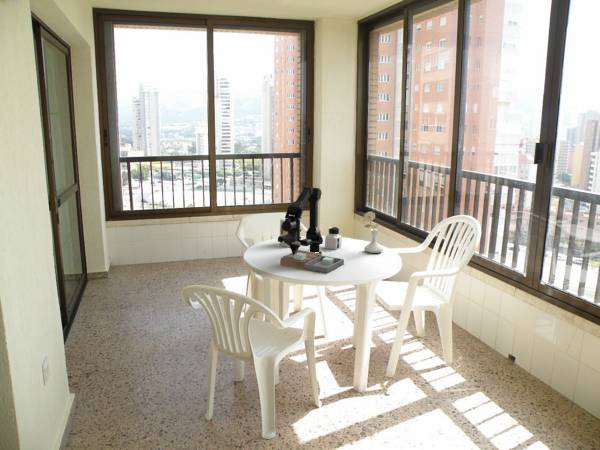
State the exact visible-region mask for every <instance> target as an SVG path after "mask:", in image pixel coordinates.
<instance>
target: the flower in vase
mask: <svg viewBox="0 0 600 450" xmlns="http://www.w3.org/2000/svg"><path fill="white" fill-rule="evenodd" d="M362 218H363V221H364V222H368V224H365V225H364V226H363V227H364V228H367V229H368V228H371V229H370V232H371V237H372V240H371V241H370V243H368V244H367V245H365V247H364V248H363V249H364V251H365V252H367V253H371V254H372V253H374V254H377V253H378V254H379V253H381V252H383V251H384V247H382V245H381V244H379V243H378V242H377V234H378V232H379V229H377V227H378V226H379V223H376V224H374V225H372V221H374V219H376V213H375V212H373V211H367V212H365V213H364V214H363V216H362ZM369 223H370V224H369Z"/></svg>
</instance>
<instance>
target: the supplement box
mask: <svg viewBox="0 0 600 450" xmlns="http://www.w3.org/2000/svg"><path fill="white" fill-rule="evenodd" d="M285 219H286V218H285V217H284V218H280V220H279V221H280V222H279V236H282V235H287V234H288V232H286V231H284V230H283V229H282V223H283V222H284V221H285ZM279 245H280V246H283V247H286V248H290V246H289V245H287V243H286V244H285V243H284V241H283V242H279Z"/></svg>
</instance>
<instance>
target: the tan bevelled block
mask: <svg viewBox="0 0 600 450" xmlns="http://www.w3.org/2000/svg"><path fill="white" fill-rule="evenodd" d="M297 253H304V254H306V259H303V260H297V259H294V256H293V254H292V252H291V253H288V254H286V255H284V256H281V257H280V266H283V267H284V266H285V267H290V268H294V269H295V268H296V269H301V270H305V269H304V264H305V263H307V262H309V261H311V260H313V259H315V258H317V257H319V256H323V255H322V253H314V252H309V250H308V251H307V250H302V249H301V250H300V249H298V251H297Z"/></svg>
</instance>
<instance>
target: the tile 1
mask: <svg viewBox="0 0 600 450" xmlns="http://www.w3.org/2000/svg"><path fill="white" fill-rule="evenodd" d="M294 259H297V260H303V259H306V254H304V253H296V254H294Z"/></svg>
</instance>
